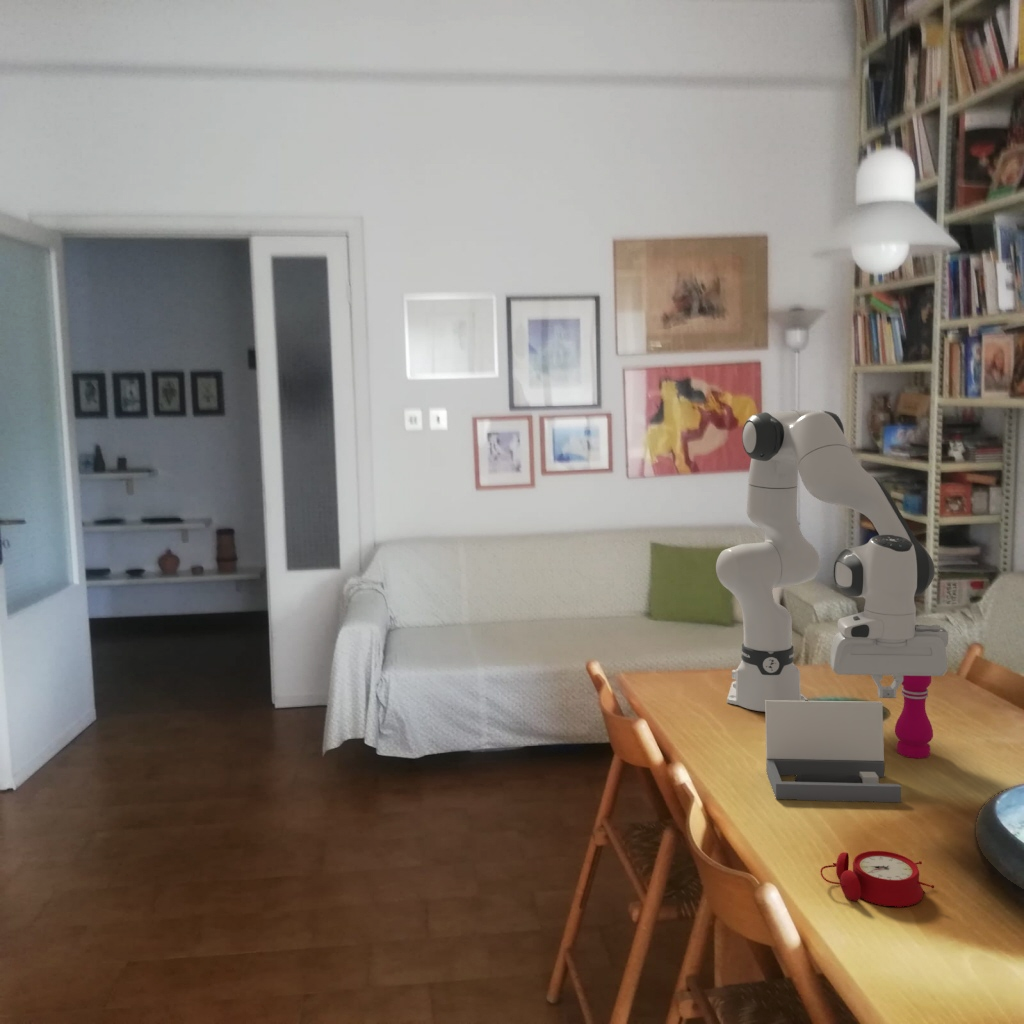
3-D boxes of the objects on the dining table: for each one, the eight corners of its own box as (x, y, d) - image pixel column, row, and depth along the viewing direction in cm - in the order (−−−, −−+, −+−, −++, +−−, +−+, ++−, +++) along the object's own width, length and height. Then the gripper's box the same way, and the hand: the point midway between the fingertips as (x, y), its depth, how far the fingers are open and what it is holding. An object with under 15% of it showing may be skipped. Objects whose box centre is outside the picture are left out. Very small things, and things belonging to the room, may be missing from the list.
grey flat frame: (766, 772, 187) (766, 757, 187) (882, 774, 184) (883, 760, 184) (775, 799, 175) (776, 784, 174) (900, 802, 172) (901, 786, 172)
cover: (766, 758, 186) (766, 757, 187) (883, 760, 183) (882, 759, 184) (765, 701, 186) (765, 700, 187) (882, 702, 184) (881, 701, 185)
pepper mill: (936, 760, 191) (939, 663, 188) (898, 758, 192) (900, 662, 189) (928, 747, 198) (930, 653, 195) (891, 745, 199) (893, 652, 196)
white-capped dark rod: (795, 789, 179) (796, 776, 179) (793, 783, 181) (793, 770, 181) (878, 790, 177) (878, 777, 177) (874, 785, 180) (874, 771, 180)
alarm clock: (940, 888, 136) (835, 861, 138) (929, 927, 137) (824, 899, 139) (921, 853, 147) (823, 828, 149) (910, 889, 148) (813, 864, 150)
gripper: (943, 620, 176) (940, 692, 178) (829, 619, 179) (827, 690, 181) (954, 629, 170) (951, 704, 172) (836, 628, 172) (834, 701, 174)
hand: (886, 697), depth 176 cm, fingers closed
